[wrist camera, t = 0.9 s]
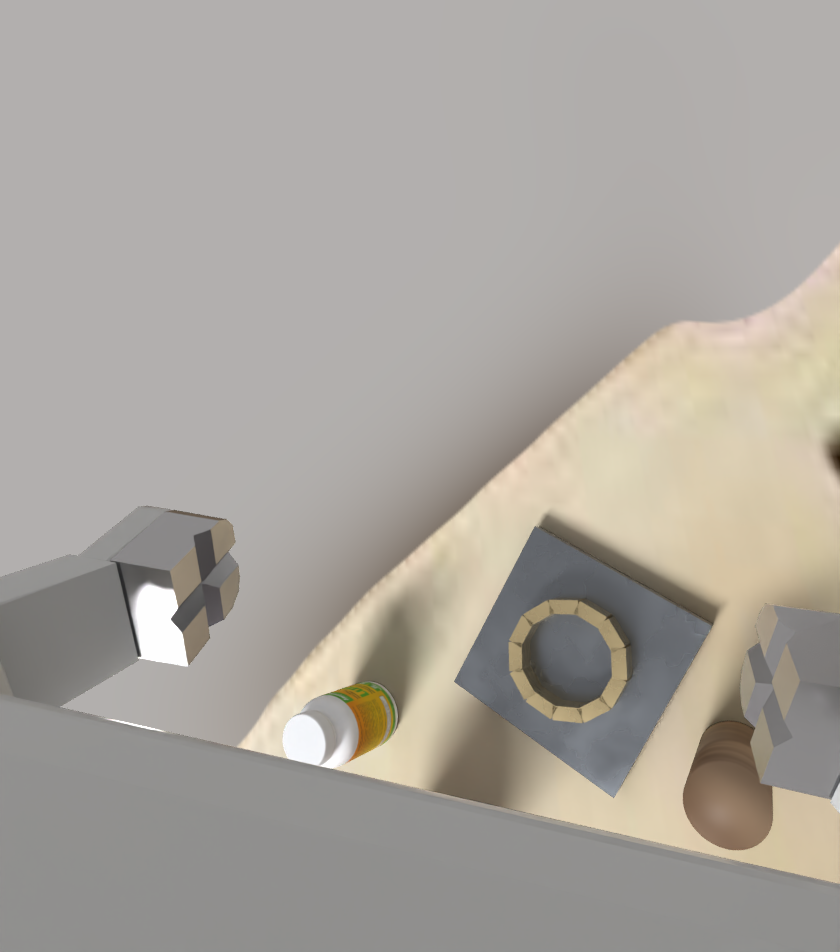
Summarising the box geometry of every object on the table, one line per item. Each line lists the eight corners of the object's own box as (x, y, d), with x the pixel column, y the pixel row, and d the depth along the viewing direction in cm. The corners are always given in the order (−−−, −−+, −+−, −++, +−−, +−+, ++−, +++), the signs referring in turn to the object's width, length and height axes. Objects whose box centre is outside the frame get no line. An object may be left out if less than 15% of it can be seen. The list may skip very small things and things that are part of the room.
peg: (731, 707, 45) (723, 746, 36) (787, 761, 43) (792, 816, 35) (684, 749, 46) (665, 797, 37) (737, 803, 45) (730, 867, 36)
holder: (539, 526, 52) (526, 525, 50) (713, 624, 46) (709, 629, 43) (460, 679, 54) (443, 686, 51) (617, 792, 48) (607, 807, 45)
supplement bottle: (392, 675, 57) (326, 698, 49) (405, 741, 56) (340, 776, 47) (341, 685, 59) (269, 708, 51) (352, 748, 58) (281, 783, 50)
